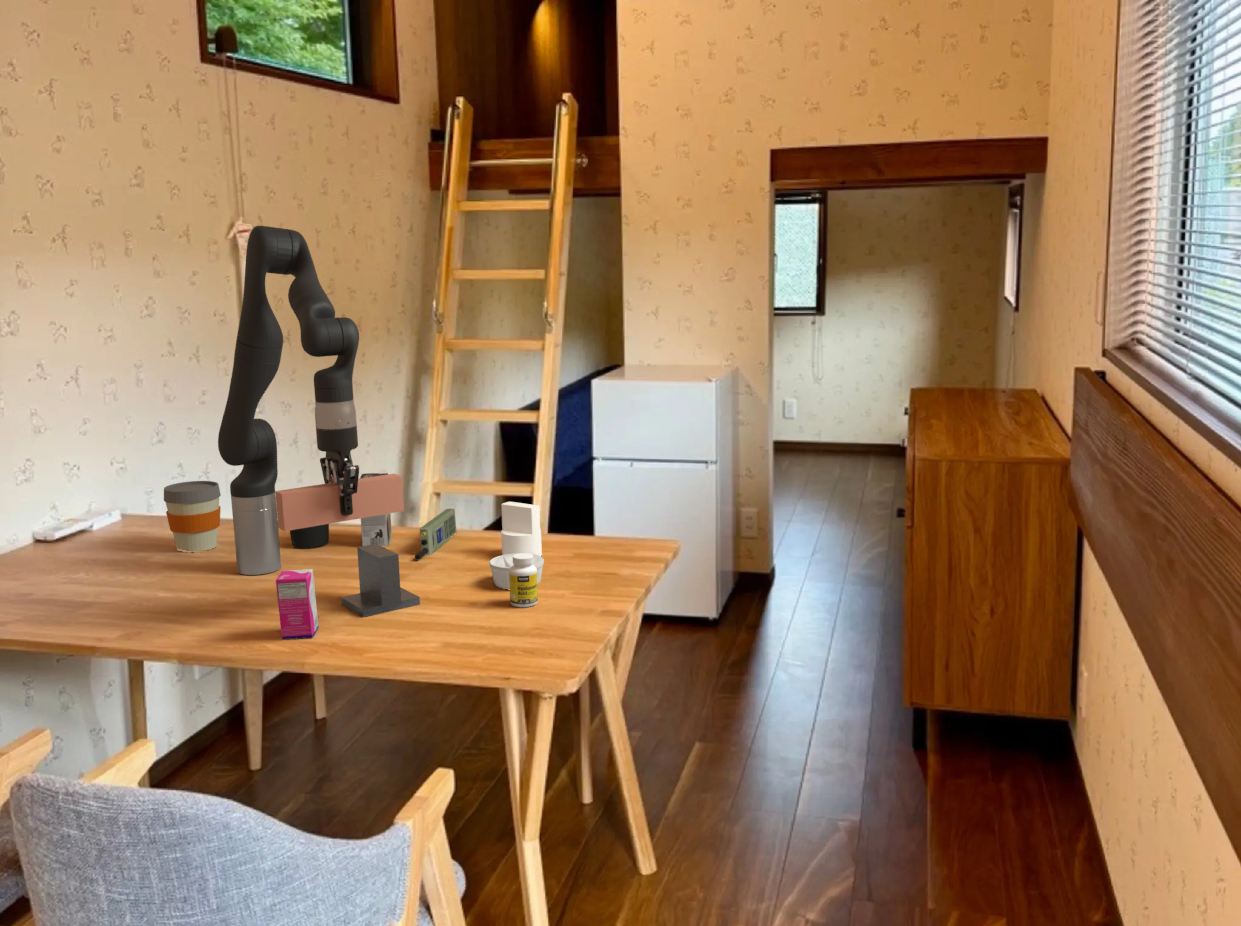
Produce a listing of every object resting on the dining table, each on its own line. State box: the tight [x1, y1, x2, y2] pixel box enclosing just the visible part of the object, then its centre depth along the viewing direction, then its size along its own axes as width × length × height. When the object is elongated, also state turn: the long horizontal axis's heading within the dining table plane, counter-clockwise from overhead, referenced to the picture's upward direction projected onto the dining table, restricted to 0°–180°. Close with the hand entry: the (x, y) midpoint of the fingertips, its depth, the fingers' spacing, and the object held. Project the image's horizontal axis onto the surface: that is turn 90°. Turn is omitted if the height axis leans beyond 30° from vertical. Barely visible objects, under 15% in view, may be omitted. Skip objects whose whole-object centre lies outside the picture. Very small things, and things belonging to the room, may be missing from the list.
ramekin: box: [488, 553, 545, 590], centre depth 229 cm, size 11×11×5 cm
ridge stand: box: [340, 544, 421, 618], centre depth 216 cm, size 10×12×11 cm
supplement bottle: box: [509, 553, 538, 608], centre depth 216 cm, size 5×5×10 cm
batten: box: [275, 473, 405, 532], centre depth 211 cm, size 4×24×7 cm, turn 126°
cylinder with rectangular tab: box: [500, 501, 543, 556], centre depth 249 cm, size 9×9×12 cm
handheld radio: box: [414, 508, 458, 561], centre depth 258 cm, size 7×3×25 cm
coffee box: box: [359, 472, 393, 547], centre depth 262 cm, size 9×6×16 cm
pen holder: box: [289, 524, 330, 550], centre depth 262 cm, size 9×9×10 cm
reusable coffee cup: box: [163, 480, 222, 551], centre depth 260 cm, size 13×13×15 cm
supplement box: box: [275, 568, 319, 640], centre depth 201 cm, size 6×6×12 cm
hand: (342, 512), depth 211 cm, fingers closed on batten, 3 cm apart
